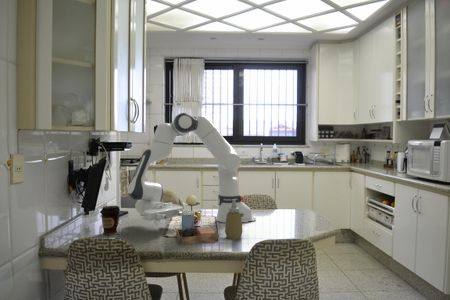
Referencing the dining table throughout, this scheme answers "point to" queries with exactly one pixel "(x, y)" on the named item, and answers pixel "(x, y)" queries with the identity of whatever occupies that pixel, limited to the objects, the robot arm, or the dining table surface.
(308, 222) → the dining table surface
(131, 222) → the dining table surface
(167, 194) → the fossilized egg
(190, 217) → the tin can
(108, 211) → the coffee cup
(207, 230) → the pasta box
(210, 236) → the crate
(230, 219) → the squeeze bottle
